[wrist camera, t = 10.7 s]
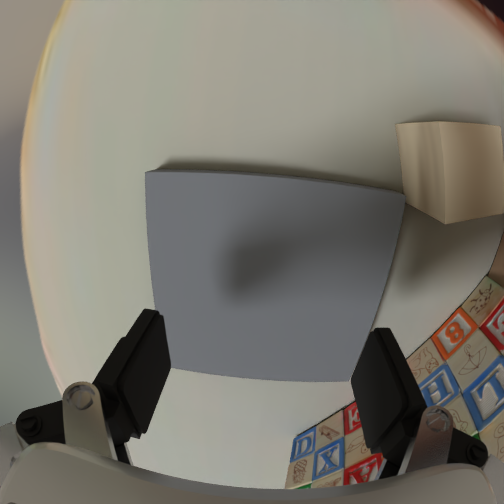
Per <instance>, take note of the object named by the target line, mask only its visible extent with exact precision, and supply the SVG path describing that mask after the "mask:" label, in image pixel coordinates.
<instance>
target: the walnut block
mask: <svg viewBox="0 0 504 504" xmlns="http://www.w3.org/2000/svg"><path fill="white" fill-rule="evenodd" d="M488 277H489V278H490V279H492V280H493V281H495V282H496V283H497V284H499V285H500V286H501V287H503V288H504V233H503V236H502V239H501V242H500V245H499V248H498V251H497V254H496V256H495V259H494V262H493V264H492V267H491V270H490V272H489V275H488Z"/></svg>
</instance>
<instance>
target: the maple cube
mask: <svg viewBox="0 0 504 504" xmlns="http://www.w3.org/2000/svg"><path fill="white" fill-rule="evenodd" d="M395 126H396V132H397V139H398V146H399V153H400V161H401V171H402V182H403V195H405V196H406V201H405V203H407V204H409V205H411V206H413V207H415V208H417V209H419V210H420V211H422V212H424V213H426V214H428V215H429V216H431V217H433V218H435V219H436V220H438V221H440V222H442V223H443V224H451V223H456V222H461V221H467V220H472V219H477V218H483V217H488V216H493V215H498V214H503V209H504V159H503V145H502V135H501V127H500V126H495V125H486V124H476V123H463V122H443V121H435V122H417V123H404V124H395Z"/></svg>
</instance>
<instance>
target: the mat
mask: <svg viewBox="0 0 504 504" xmlns="http://www.w3.org/2000/svg"><path fill="white" fill-rule="evenodd" d="M145 194H146V219H147V236H148V249H149V260H150V270H151V280H152V288H153V296H154V303H155V310H157V311H159V313H160V315H163V316H164V322H165V329H166V335H167V342H168V348H169V354H170V359H171V368H176V369H181V370H187V371H193V372H200V373H206V374H214V375H221V376H230V377H239V378H249V379H262V380H277V381H302V382H340V381H349V379H350V377H351V375H352V373H353V371H354V368H355V366H356V364H357V361H358V359H359V357H360V354H361V352H362V349H363V347H364V344H365V342H366V339H367V337H368V334H369V331H370V329H371V326H372V323H373V321H374V318H375V315H376V312H377V309H378V306H379V303H380V300H381V297H382V294H383V291H384V287H385V284H386V281H387V277H388V274H389V270H390V267H391V263H392V259H393V256H394V252H395V248H396V244H397V240H398V235H399V231H400V226H401V222H402V217H403V212H404V207H405V201H406V196H405V195H403V194H401V193H399V192H397V191H392V190H387V189H381V188H376V187H370V186H364V185H358V184H351V183H344V182H337V181H330V180H323V179H314V178H306V177H297V176H287V175H277V174H265V173H252V172H236V171H217V170H183V169H155V170H151V171H148V172H145Z"/></svg>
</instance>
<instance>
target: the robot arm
mask: <svg viewBox="0 0 504 504" xmlns="http://www.w3.org/2000/svg"><path fill="white" fill-rule="evenodd" d="M170 369H171V359H170V354H169V348H168V342H167V335H166V329H165V322H164V316H163V315H160V313H159V311H157V310H151V309H144V310H143V311H142V313H141V314H140V315H139V317H138V318H137V320H136V321H135V323H134V324H133V326H132V327H131V329H130V330H129V332H128V334H127V335H126V337H122V338H121V339H120V340H119V342H118V343H117V345H116V346H115V348H114V349H113V351H112V353H111V354H110V356H109V357H108V359H107V360H106V362H105V363H104V365H103V367H102V368H101V370H100V371H99V373H98V375H97V376H96V378H95V380H94V381H93V383H92V384H91V383H88V382H76V383H73V384H71V385H70V386H68V387H67V388H66V389H65V391H64V393H63V398H62V400H61V401H57V402H54V403H50V404H47V405H43V406H40V407H36V408H32V409H28V410H25V411H23V412H22V413H21V414H20V415H19V416H18V418H17V421H16V423H15V424H14V423H13V422H10V423H7V424H5V425H3V426H1V427H0V504H504V462H502V461H501V460H499V459H498V458H496V457H495V456H494V455H492V454H490V455H489V456H488V449H487V447H486V445H485V444H484V443H483V442H482V441H481V440H479V439H477V438H475V437H472V436H470V435H468V434H466V433H464V432H462V431H460V430H458V429H456V428H454V427H453V417H452V415H451V414H450V412H449V411H448V410H447V409H445V408H444V407H441V406H437V405H435V406H430V407H427V405H426V402H425V399H424V397H423V395H422V393H421V390H420V388H419V386H418V384H417V382H416V379H415V377H414V375H413V373H412V371H411V369H410V367H409V365H408V363H407V361H406V359H405V357H404V355H403V353H402V351H401V349H400V347H399V345H398V343H397V341H396V339H395V337H394V335H393V333H392V332H391V330H390V328H375V329H374V331H372V332H370V334H369V336H368V339H367V341H366V344H365V346H364V349H363V351H362V354H361V356H360V359H359V361H358V363H357V366H356V368H355V370H354V372H353V375H352V377H351V385H352V389H353V393H354V397H355V401H356V405H357V409H358V413H359V417H360V422H361V426H362V430H363V435H364V439H365V444H366V447H367V448H370V451H371V454H377V453H382V455H383V458H384V459H383V462H382V464H381V466H380V468H379V471H378V473H377V475H376V477H375V479H374V481H369V482H363V483H357V484H350V485H343V486H334V487H323V488H309V489H257V488H242V487H232V486H223V485H216V484H209V483H202V482H197V481H191V480H186V479H181V478H177V477H172V476H168V475H164V474H160V473H156V472H153V471H149V470H146V469H142V468H139V467H135V466H133V463H132V460H131V456H130V453H129V450H128V447H127V443H126V442H128V441H129V439H130V437H134V438H137V439H140V437H141V434H142V433H143V434H145V433H146V432H147V429H148V427H149V424H150V421H151V419H152V416H153V413H154V411H155V408H156V405H157V403H158V400H159V398H160V395H161V392H162V390H163V387H164V385H165V382H166V380H167V377H168V374H169V372H170Z"/></svg>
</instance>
